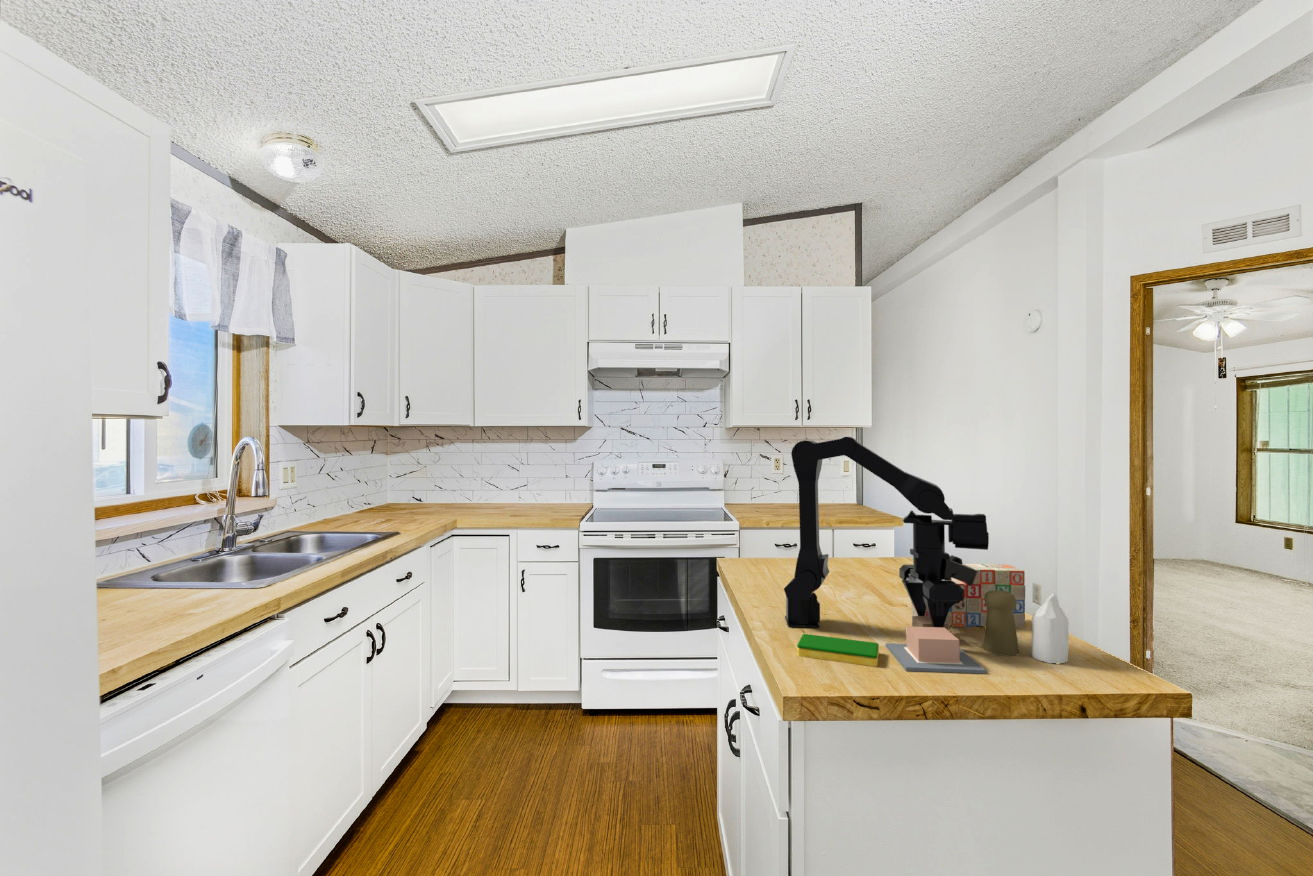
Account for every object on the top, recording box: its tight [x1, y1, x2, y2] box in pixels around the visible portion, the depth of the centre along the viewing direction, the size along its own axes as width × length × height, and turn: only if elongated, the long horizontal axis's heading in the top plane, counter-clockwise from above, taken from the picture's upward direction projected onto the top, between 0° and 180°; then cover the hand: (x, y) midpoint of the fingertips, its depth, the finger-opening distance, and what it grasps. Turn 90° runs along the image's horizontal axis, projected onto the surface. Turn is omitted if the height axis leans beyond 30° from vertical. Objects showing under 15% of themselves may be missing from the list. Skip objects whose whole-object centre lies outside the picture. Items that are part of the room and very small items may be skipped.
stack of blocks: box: [910, 563, 1026, 628], centre depth 125 cm, size 21×6×12 cm, turn 86°
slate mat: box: [885, 642, 987, 675], centre depth 104 cm, size 13×12×1 cm
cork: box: [982, 590, 1020, 657], centre depth 108 cm, size 6×6×11 cm
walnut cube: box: [911, 615, 950, 632], centre depth 114 cm, size 5×5×4 cm
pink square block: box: [905, 626, 960, 663], centre depth 104 cm, size 7×7×4 cm
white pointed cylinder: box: [1031, 592, 1070, 665], centre depth 104 cm, size 6×12×6 cm
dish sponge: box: [796, 633, 880, 668], centre depth 106 cm, size 7×14×2 cm, turn 66°
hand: (929, 624), depth 114 cm, fingers open, 9 cm apart
